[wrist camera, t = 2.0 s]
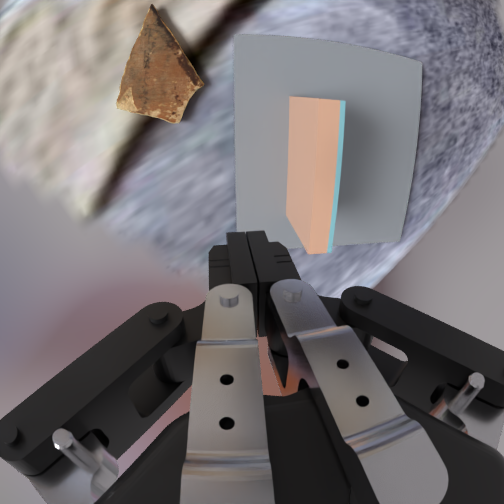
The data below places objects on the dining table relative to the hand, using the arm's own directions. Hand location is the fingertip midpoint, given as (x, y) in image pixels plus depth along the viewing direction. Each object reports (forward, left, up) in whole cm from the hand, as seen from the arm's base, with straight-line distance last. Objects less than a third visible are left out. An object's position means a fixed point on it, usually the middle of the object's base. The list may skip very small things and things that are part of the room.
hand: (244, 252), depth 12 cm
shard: (-9, -7, -19) cm, 22 cm away
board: (-1, +11, -19) cm, 22 cm away
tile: (0, +7, -17) cm, 19 cm away
